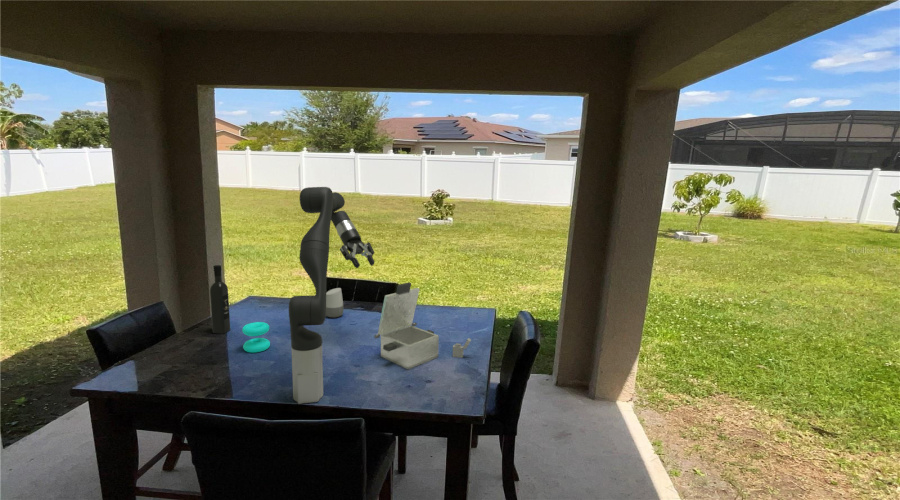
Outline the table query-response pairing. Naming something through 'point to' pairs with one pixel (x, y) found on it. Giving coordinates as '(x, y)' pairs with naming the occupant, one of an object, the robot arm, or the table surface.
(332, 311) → the smart speaker
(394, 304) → the lid
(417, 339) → the grey rectangular box
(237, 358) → the table surface
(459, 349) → the lighter
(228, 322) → the wine bottle
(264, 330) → the donuts
